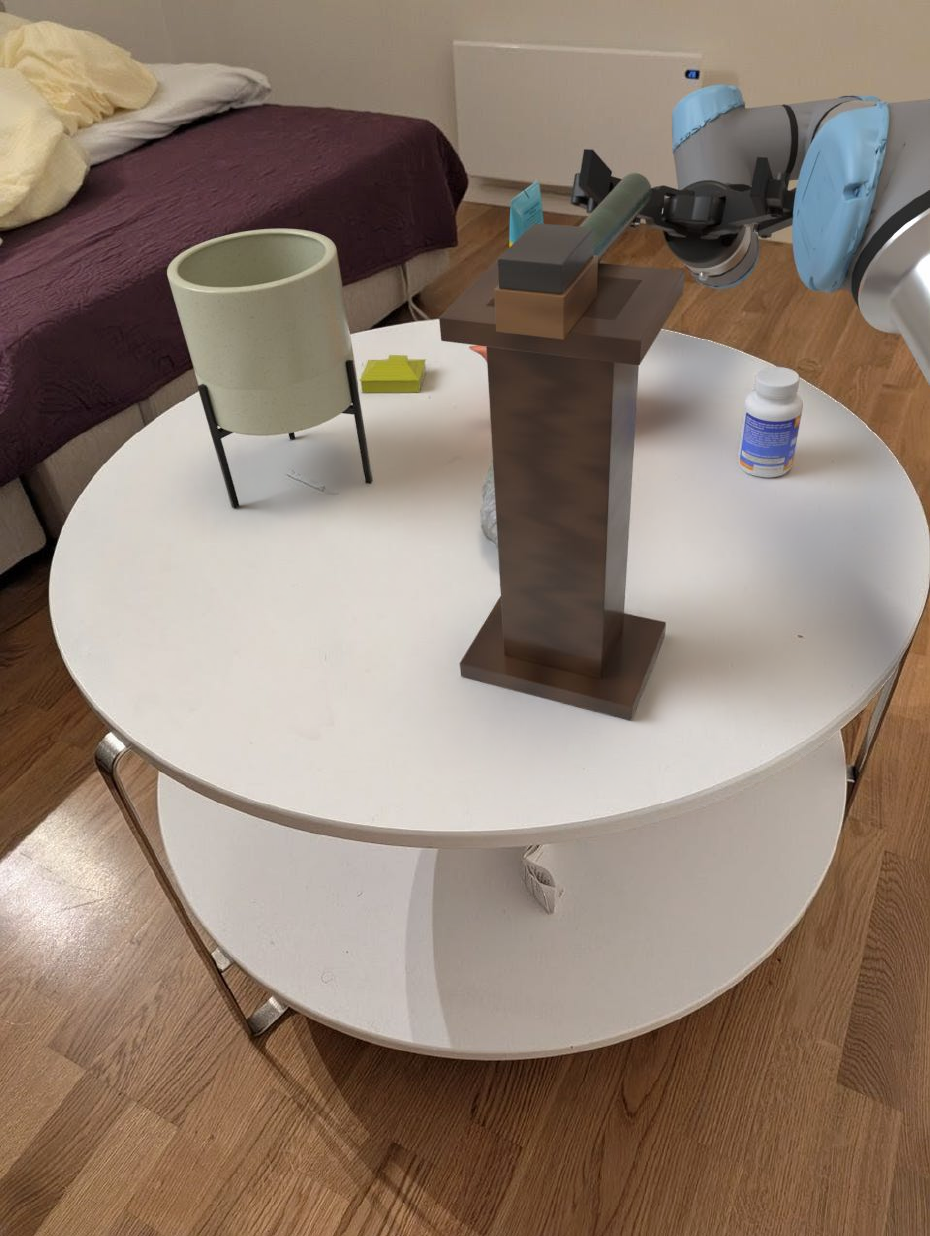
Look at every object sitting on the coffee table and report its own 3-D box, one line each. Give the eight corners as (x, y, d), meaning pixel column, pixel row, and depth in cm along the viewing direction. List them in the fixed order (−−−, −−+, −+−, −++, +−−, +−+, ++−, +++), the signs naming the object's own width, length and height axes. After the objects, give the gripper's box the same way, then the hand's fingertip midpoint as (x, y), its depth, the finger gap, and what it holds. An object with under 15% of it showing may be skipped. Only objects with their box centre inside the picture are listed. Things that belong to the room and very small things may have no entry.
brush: (606, 207, 65) (608, 146, 63) (662, 211, 64) (666, 148, 61) (495, 331, 51) (492, 260, 49) (563, 340, 50) (564, 266, 47)
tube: (522, 336, 119) (516, 178, 107) (557, 339, 118) (556, 180, 105) (502, 361, 114) (494, 199, 102) (539, 365, 113) (536, 202, 100)
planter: (343, 525, 90) (300, 295, 75) (201, 507, 94) (133, 286, 79) (397, 445, 101) (368, 230, 86) (267, 432, 105) (217, 224, 90)
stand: (664, 635, 75) (701, 271, 56) (631, 721, 69) (659, 342, 49) (506, 599, 80) (487, 252, 60) (460, 676, 74) (422, 315, 54)
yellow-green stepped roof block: (347, 399, 110) (343, 377, 108) (362, 363, 116) (359, 342, 115) (430, 398, 108) (427, 376, 106) (440, 362, 115) (438, 341, 113)
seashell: (468, 553, 81) (484, 463, 78) (477, 517, 94) (491, 439, 91) (539, 566, 81) (558, 477, 78) (539, 529, 94) (555, 451, 91)
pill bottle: (797, 477, 91) (815, 388, 84) (742, 480, 91) (756, 391, 85) (784, 448, 95) (800, 361, 89) (731, 451, 95) (743, 364, 89)
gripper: (830, 280, 88) (825, 234, 68) (580, 259, 96) (512, 212, 77) (849, 196, 86) (849, 125, 67) (592, 181, 94) (526, 114, 75)
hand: (669, 171), depth 72 cm, fingers open, 13 cm apart
